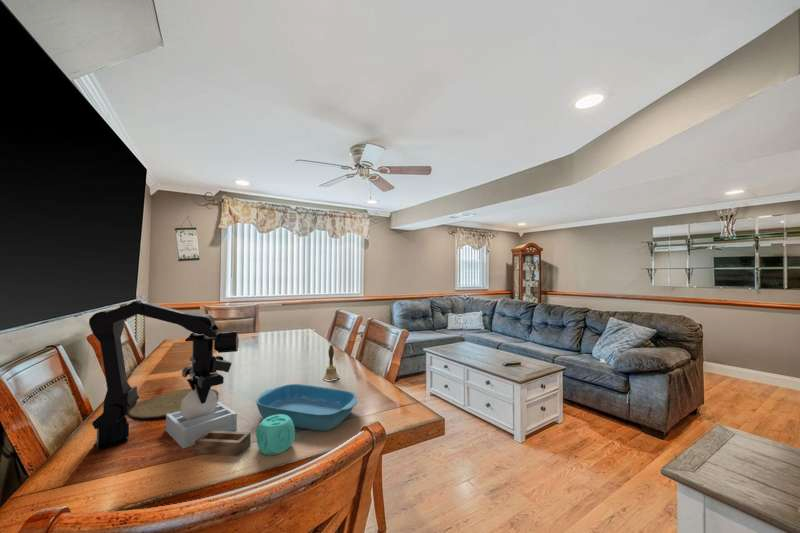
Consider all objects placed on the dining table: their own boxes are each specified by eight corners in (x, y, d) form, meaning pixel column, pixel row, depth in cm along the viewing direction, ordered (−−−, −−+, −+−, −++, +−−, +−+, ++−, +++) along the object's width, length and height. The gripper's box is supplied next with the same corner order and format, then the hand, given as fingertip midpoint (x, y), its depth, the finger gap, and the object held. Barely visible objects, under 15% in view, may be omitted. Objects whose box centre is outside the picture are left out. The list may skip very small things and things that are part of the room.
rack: (183, 448, 92) (183, 430, 92) (165, 430, 102) (166, 414, 102) (236, 429, 103) (236, 413, 103) (216, 414, 114) (216, 400, 114)
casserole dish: (367, 410, 119) (367, 391, 119) (338, 440, 97) (338, 417, 97) (283, 398, 129) (284, 380, 130) (241, 423, 108) (242, 402, 108)
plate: (204, 425, 102) (223, 395, 107) (174, 416, 96) (197, 384, 101) (201, 423, 104) (220, 393, 109) (172, 414, 98) (194, 382, 102)
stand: (194, 453, 89) (195, 440, 89) (209, 442, 95) (209, 430, 95) (238, 455, 88) (239, 442, 89) (250, 444, 94) (250, 432, 94)
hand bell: (319, 380, 151) (319, 346, 151) (327, 375, 159) (328, 343, 159) (334, 382, 148) (335, 348, 149) (342, 376, 156) (343, 344, 157)
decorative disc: (178, 383, 140) (237, 385, 134) (178, 391, 140) (237, 393, 134) (106, 411, 112) (177, 415, 106) (106, 420, 112) (177, 425, 106)
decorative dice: (281, 437, 98) (281, 411, 98) (295, 447, 93) (295, 419, 93) (255, 448, 92) (256, 420, 92) (268, 458, 87) (269, 429, 87)
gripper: (240, 353, 103) (239, 402, 103) (217, 345, 115) (216, 388, 115) (203, 361, 95) (201, 413, 95) (182, 350, 107) (180, 397, 106)
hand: (201, 402), depth 103 cm, fingers closed on plate, 2 cm apart
